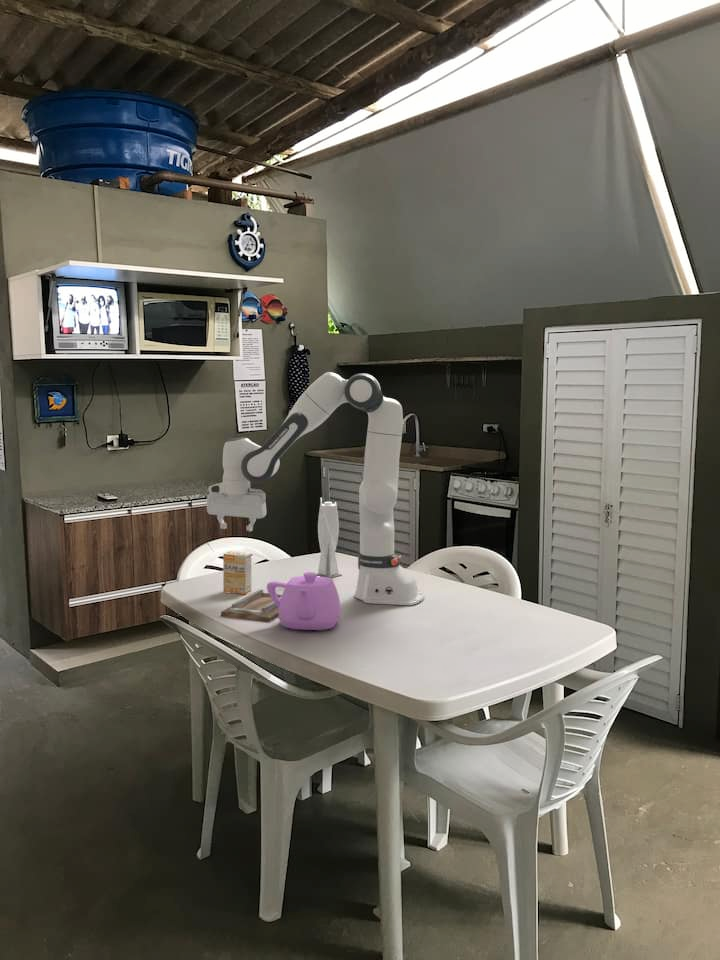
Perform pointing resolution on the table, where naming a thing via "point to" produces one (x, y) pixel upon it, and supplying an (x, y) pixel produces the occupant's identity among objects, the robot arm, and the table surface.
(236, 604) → the rail board
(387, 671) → the table surface
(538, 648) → the table surface
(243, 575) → the supplement box
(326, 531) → the skyscraper
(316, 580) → the teapot
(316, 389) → the robot arm
